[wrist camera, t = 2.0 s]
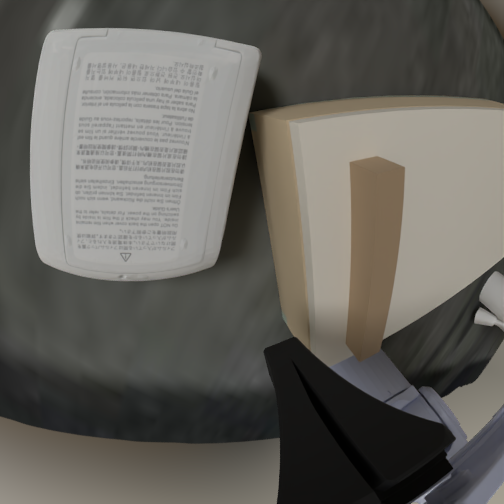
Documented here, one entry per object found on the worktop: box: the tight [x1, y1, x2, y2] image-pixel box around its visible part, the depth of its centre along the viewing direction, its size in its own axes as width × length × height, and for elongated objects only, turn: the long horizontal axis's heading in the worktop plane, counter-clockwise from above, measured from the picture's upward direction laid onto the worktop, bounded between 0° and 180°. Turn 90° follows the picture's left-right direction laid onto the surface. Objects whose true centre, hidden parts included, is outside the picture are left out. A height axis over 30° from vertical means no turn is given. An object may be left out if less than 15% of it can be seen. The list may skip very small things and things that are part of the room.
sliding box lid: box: [289, 106, 504, 367], centre depth 16 cm, size 16×26×3 cm, turn 101°
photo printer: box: [30, 28, 262, 281], centre depth 12 cm, size 10×4×12 cm
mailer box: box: [248, 95, 504, 351], centre depth 20 cm, size 16×26×5 cm, turn 101°
